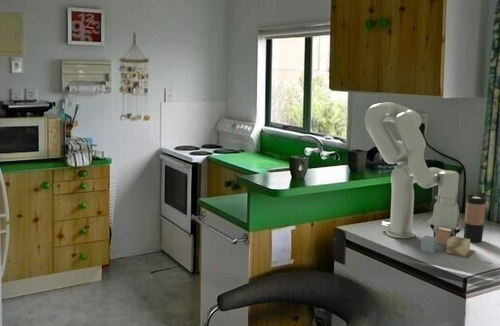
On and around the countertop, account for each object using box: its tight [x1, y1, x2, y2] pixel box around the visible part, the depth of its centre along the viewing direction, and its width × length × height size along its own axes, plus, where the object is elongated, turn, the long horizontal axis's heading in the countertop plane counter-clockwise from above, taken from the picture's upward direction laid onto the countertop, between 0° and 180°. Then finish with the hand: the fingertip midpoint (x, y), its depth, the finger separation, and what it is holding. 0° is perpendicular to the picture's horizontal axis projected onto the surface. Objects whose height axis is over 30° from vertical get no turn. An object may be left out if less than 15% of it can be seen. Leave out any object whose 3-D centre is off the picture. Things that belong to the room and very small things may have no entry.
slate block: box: [420, 235, 439, 254], centre depth 231 cm, size 5×5×6 cm
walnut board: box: [439, 246, 476, 259], centre depth 230 cm, size 11×11×1 cm
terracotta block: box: [435, 227, 452, 246], centre depth 242 cm, size 6×6×6 cm
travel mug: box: [463, 194, 487, 244], centre depth 243 cm, size 8×8×20 cm
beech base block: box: [446, 235, 471, 256], centre depth 229 cm, size 7×7×5 cm
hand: (444, 241), depth 242 cm, fingers closed on terracotta block, 6 cm apart
